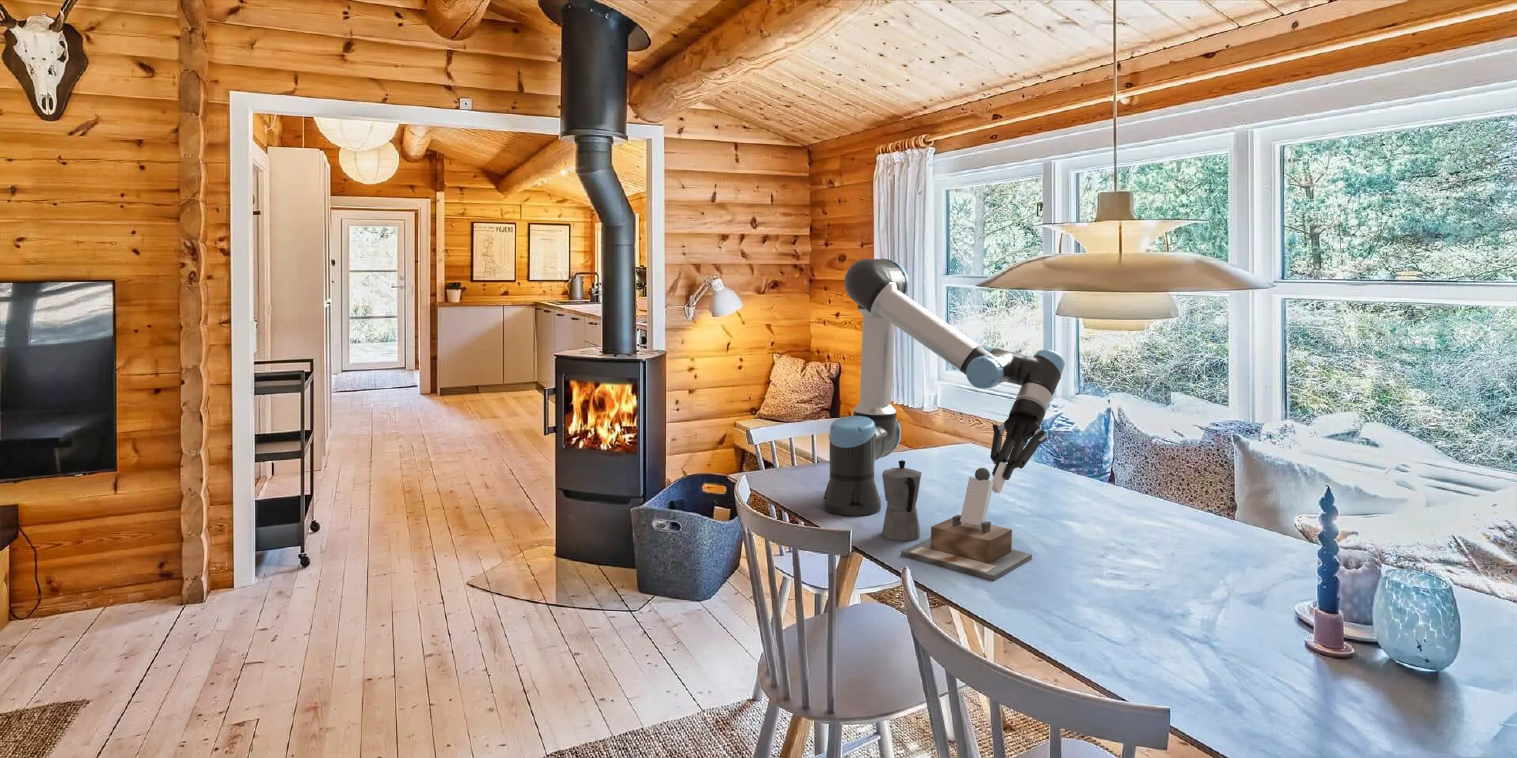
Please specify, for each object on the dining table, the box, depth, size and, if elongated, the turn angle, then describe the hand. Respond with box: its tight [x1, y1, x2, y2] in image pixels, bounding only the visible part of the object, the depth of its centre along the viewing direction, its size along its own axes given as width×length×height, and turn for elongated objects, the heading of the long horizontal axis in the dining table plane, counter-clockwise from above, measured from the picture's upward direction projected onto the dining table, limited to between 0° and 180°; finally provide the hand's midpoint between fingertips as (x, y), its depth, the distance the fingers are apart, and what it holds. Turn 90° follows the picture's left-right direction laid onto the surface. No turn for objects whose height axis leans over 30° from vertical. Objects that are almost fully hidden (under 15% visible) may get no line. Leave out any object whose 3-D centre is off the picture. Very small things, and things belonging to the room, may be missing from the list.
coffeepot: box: [881, 459, 922, 542], centre depth 193 cm, size 15×9×18 cm, turn 6°
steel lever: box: [960, 467, 993, 527], centre depth 181 cm, size 5×3×13 cm, turn 47°
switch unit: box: [900, 514, 1033, 581], centre depth 179 cm, size 22×17×8 cm
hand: (994, 489), depth 187 cm, fingers closed
